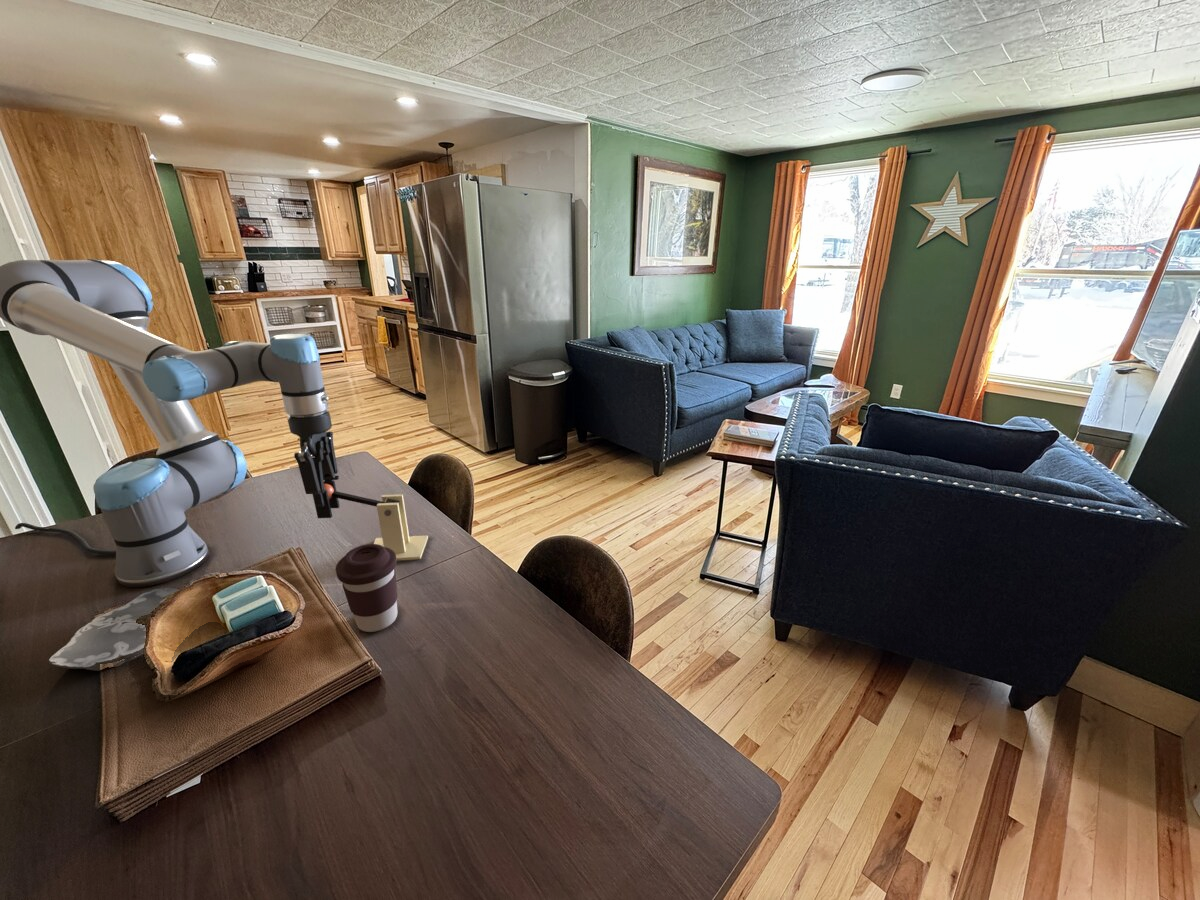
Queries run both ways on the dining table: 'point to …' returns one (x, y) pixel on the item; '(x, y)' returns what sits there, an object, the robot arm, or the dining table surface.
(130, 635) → the grey stone slab
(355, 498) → the lever
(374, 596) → the coffee cup
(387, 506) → the bracket
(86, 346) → the robot arm
